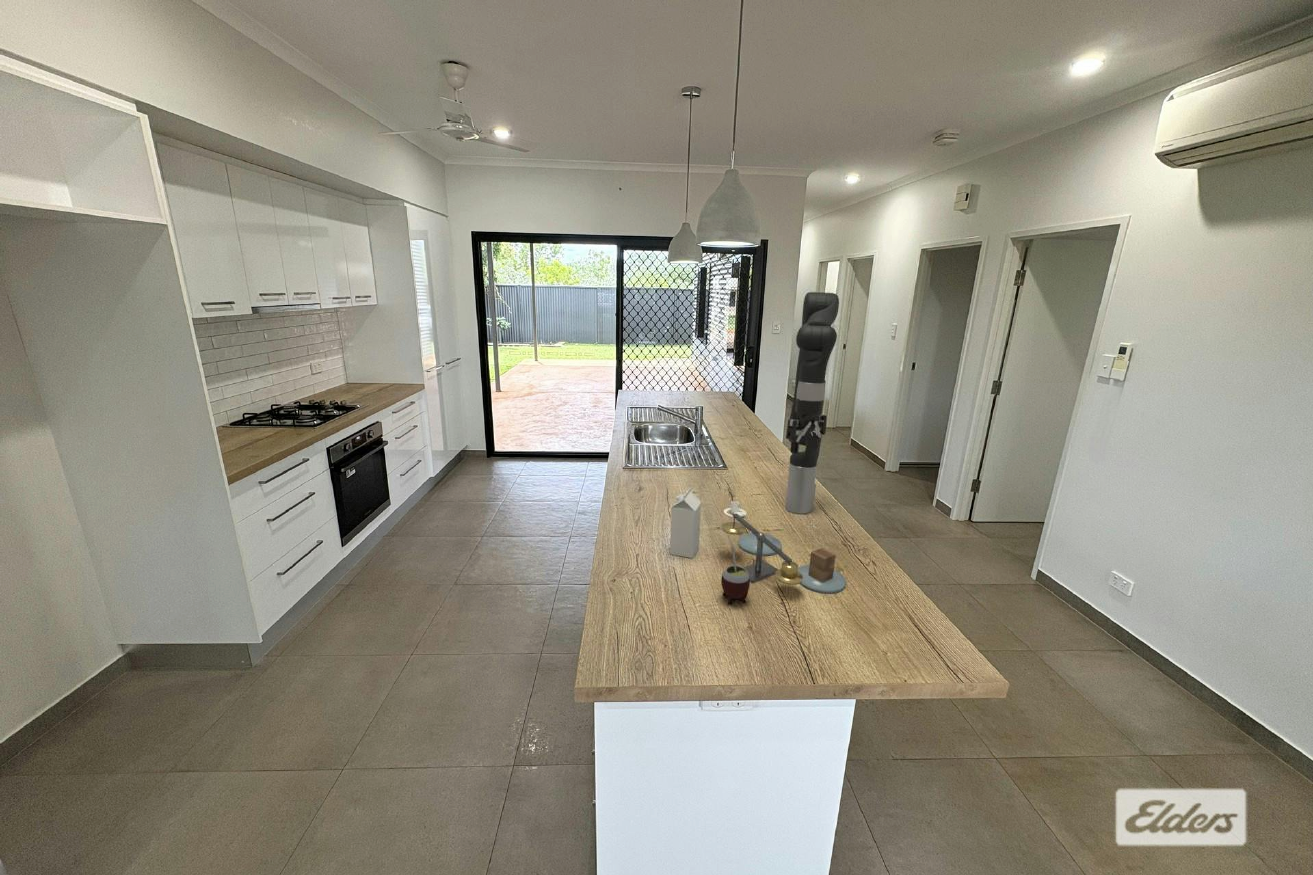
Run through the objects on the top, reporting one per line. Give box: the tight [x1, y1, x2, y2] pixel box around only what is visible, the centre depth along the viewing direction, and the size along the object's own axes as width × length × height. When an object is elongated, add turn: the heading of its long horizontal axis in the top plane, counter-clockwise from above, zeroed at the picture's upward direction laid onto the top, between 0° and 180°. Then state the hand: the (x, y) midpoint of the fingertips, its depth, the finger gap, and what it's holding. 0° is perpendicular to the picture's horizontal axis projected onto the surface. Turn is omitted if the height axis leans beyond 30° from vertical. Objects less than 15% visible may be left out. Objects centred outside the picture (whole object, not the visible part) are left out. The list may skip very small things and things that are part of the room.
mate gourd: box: [720, 534, 751, 606], centre depth 127 cm, size 8×8×15 cm
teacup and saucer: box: [723, 500, 747, 518], centre depth 179 cm, size 9×8×4 cm
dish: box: [798, 564, 847, 595], centre depth 138 cm, size 13×13×1 cm
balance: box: [720, 513, 803, 586], centre depth 139 cm, size 10×28×14 cm, turn 33°
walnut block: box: [808, 547, 837, 583], centre depth 137 cm, size 4×4×7 cm
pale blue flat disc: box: [737, 532, 782, 557], centre depth 157 cm, size 13×13×1 cm
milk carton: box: [669, 487, 702, 559], centre depth 150 cm, size 7×7×19 cm
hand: (804, 451), depth 150 cm, fingers open, 8 cm apart
